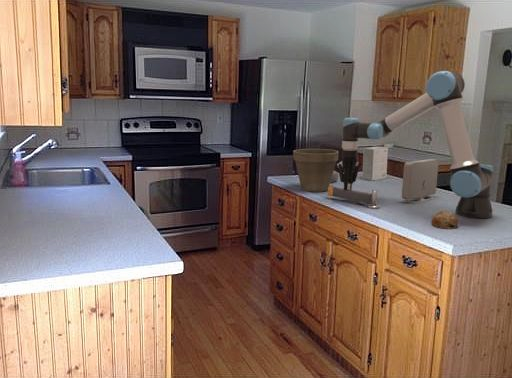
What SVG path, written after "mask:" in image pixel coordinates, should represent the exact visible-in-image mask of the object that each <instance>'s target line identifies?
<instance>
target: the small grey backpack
mask: <svg viewBox="0 0 512 378" xmlns="http://www.w3.org/2000/svg"><path fill="white" fill-rule="evenodd" d="M338 180H339V172H338V171H336V170H334V171H333V175H332V178H331V181H330V184H331V183H335V182H336V181H338Z"/></svg>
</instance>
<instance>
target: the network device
mask: <svg viewBox="0 0 512 378" xmlns="http://www.w3.org/2000/svg"><path fill="white" fill-rule="evenodd" d="M439 163H440V162H439V159H434V158H427V159H422V160H421V159H420V160H415V161H414V160H413V161H406V162H405V163H404V165H403V174H402V175H403V177H402V187H401V198H402V202H405V203H409V204H410V203H411V204H421V203H425V202H429V201H433V200H434V199H435V197H433V196H432V195H436V192H437V185H438V184H437V183H438V175H439V165H440V164H439ZM426 198H427V199H426ZM413 200H415V201H413Z"/></svg>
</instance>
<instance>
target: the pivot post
mask: <svg viewBox="0 0 512 378" xmlns="http://www.w3.org/2000/svg"><path fill="white" fill-rule="evenodd" d="M371 194H372V200H371V204H366V206H367V208H368V209H372V210H374V209H375V210H376V209H377V210H378V209H381V205H379V204H378V202H377V200H378V190H375V189H372V190H371Z"/></svg>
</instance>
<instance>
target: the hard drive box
mask: <svg viewBox="0 0 512 378" xmlns="http://www.w3.org/2000/svg"><path fill="white" fill-rule="evenodd" d="M388 152H389V147H386V146H372V147H364V148H363V156H362V157H363V160H362V161H363V162H362V164H363V165H362V177H361V178H362V180H363V179H366V180H365V181H369V180H371V181H370V182H373V180H375V181H378V180H379V181H380V180H384V179H385V180H386V179H387V174H388V173H387V172H388V171H387V170H388Z"/></svg>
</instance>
